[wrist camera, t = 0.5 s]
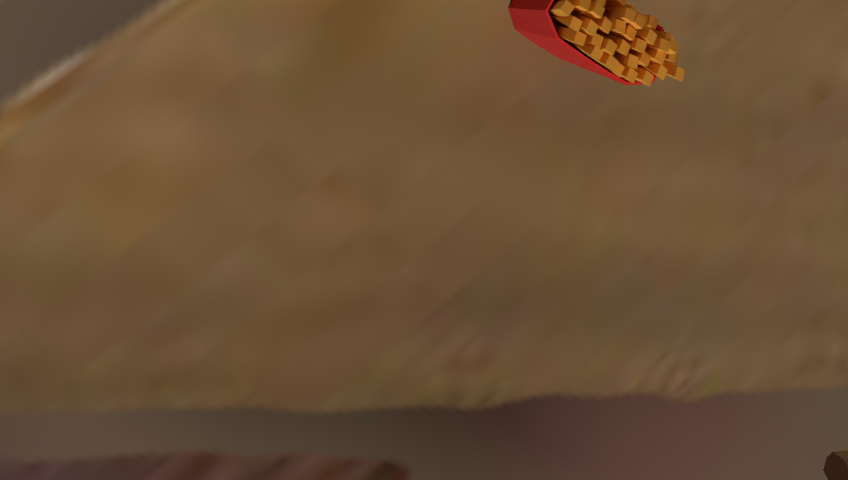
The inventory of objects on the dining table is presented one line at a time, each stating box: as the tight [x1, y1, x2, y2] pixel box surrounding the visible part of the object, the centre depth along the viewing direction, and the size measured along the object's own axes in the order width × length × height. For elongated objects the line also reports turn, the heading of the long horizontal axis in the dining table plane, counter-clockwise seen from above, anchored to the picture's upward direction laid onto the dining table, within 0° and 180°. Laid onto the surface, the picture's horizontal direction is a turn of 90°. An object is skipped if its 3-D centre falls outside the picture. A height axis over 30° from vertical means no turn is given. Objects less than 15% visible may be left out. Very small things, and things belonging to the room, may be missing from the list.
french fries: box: [509, 0, 685, 86], centre depth 45 cm, size 8×4×12 cm, turn 58°
